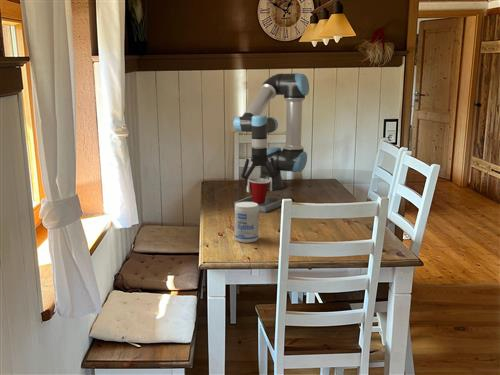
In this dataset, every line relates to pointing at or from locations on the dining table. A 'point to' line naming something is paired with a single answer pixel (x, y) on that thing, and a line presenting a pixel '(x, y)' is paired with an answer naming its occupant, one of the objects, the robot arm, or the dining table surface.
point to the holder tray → (267, 206)
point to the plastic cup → (259, 189)
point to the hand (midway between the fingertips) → (259, 191)
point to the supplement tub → (246, 221)
